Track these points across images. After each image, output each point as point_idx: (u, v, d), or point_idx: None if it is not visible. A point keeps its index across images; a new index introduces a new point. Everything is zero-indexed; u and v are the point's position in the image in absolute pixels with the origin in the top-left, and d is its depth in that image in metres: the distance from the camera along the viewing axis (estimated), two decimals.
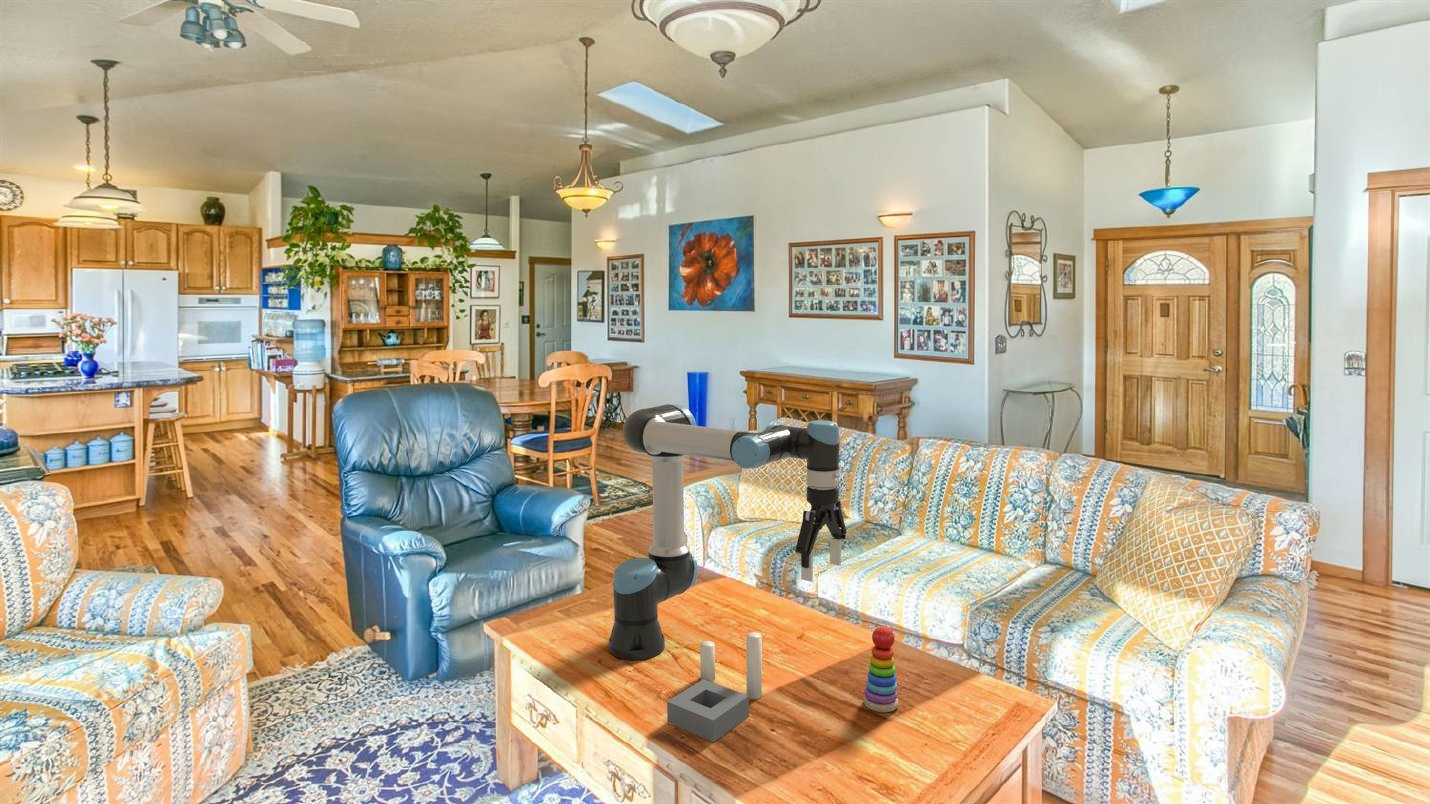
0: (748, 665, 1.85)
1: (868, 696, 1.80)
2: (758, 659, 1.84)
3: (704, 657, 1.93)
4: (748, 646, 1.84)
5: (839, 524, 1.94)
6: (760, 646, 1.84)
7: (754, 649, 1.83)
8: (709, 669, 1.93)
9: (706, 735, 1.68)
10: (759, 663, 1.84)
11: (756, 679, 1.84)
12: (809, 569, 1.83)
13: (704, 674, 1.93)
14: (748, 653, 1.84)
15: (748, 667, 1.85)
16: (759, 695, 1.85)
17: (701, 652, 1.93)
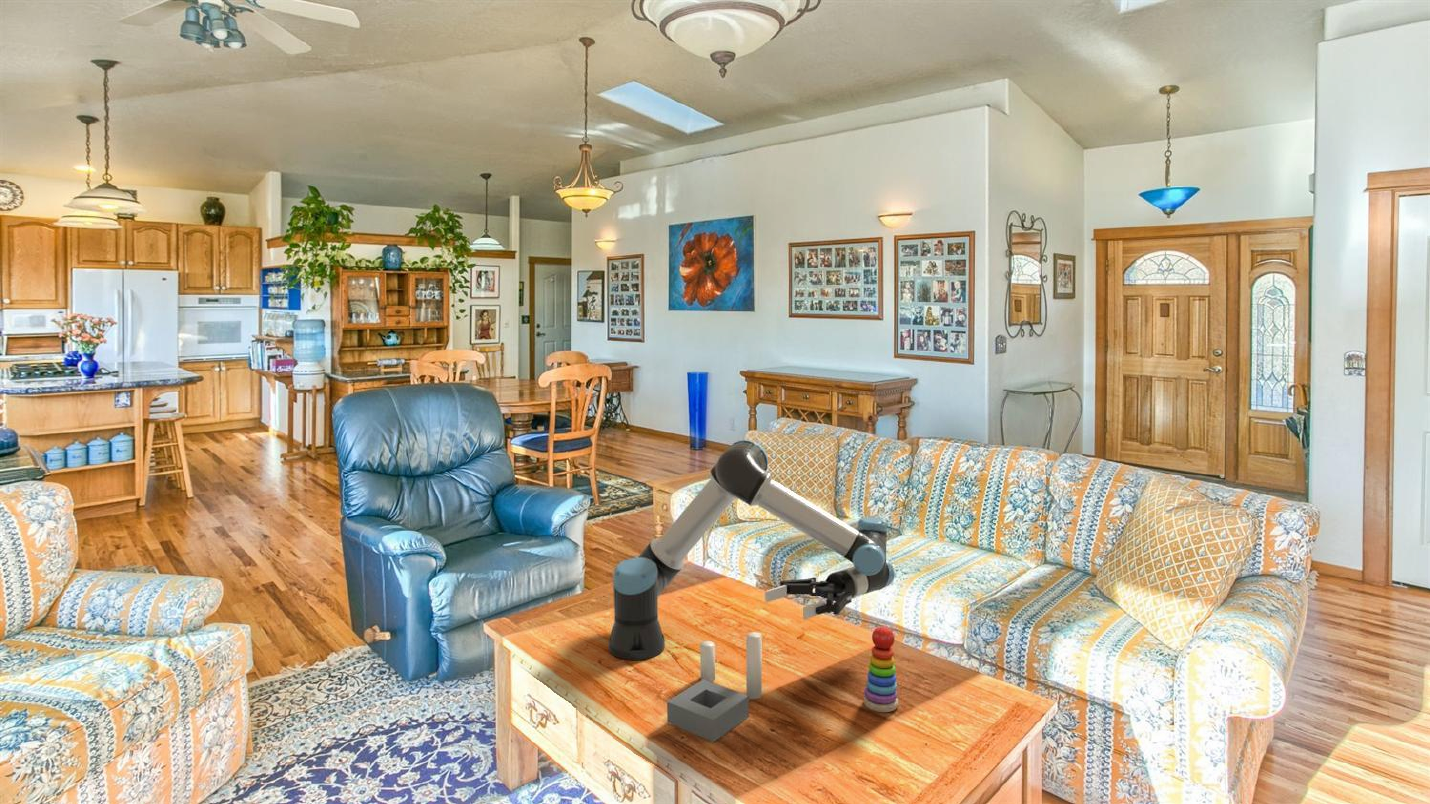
0: (748, 665, 1.85)
1: (868, 696, 1.80)
2: (758, 659, 1.84)
3: (704, 657, 1.93)
4: (748, 646, 1.84)
5: None
6: (760, 646, 1.84)
7: (754, 649, 1.83)
8: (709, 669, 1.93)
9: (706, 735, 1.68)
10: (759, 663, 1.84)
11: (756, 679, 1.84)
12: (814, 614, 1.86)
13: (704, 674, 1.93)
14: (748, 653, 1.84)
15: (748, 667, 1.85)
16: (759, 695, 1.85)
17: (701, 652, 1.93)
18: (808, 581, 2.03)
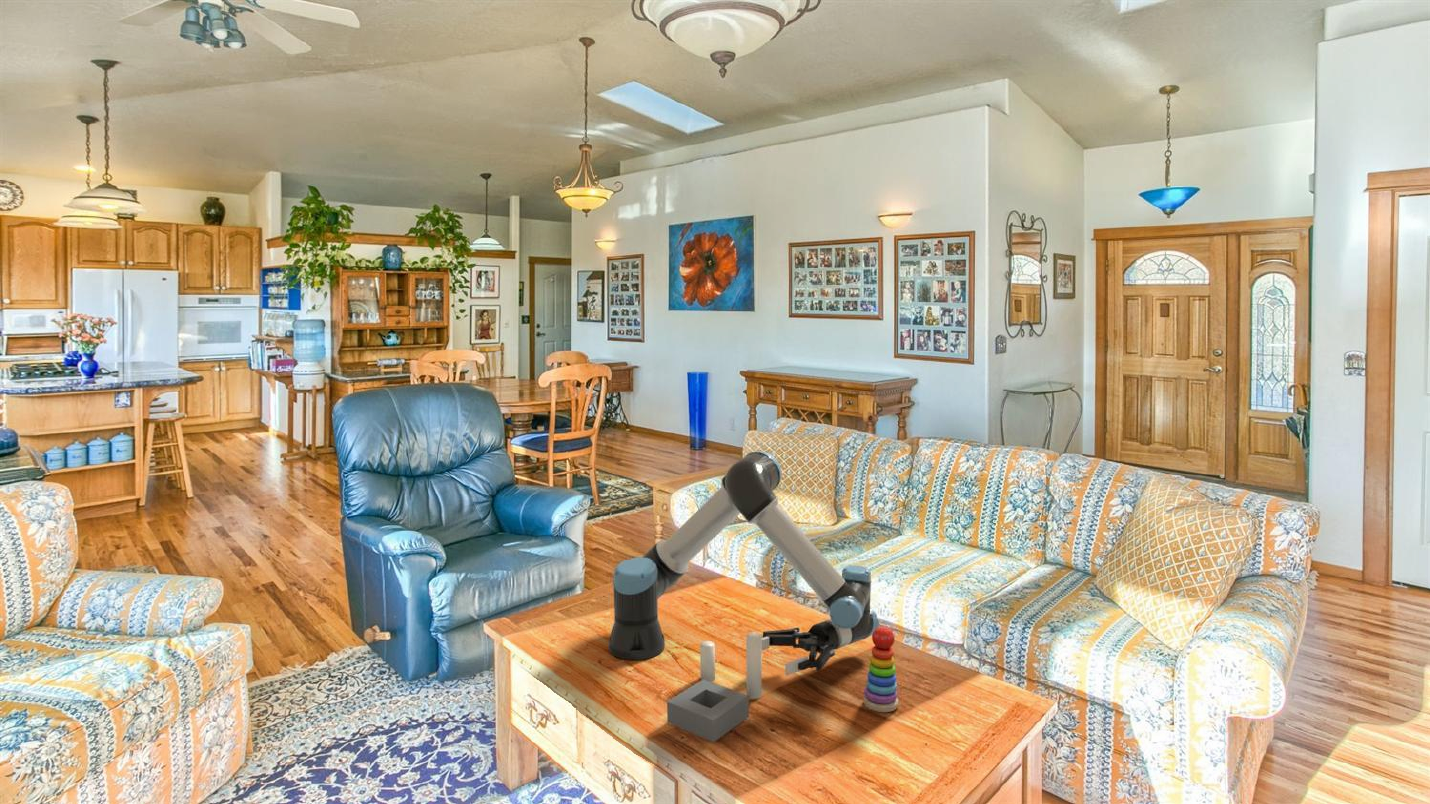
0: (748, 665, 1.85)
1: (868, 696, 1.80)
2: (758, 659, 1.84)
3: (704, 657, 1.93)
4: (748, 646, 1.84)
5: None
6: (760, 646, 1.84)
7: (754, 649, 1.83)
8: (709, 669, 1.93)
9: (706, 735, 1.68)
10: (759, 663, 1.84)
11: (756, 679, 1.84)
12: (796, 670, 1.83)
13: (704, 674, 1.93)
14: (748, 653, 1.84)
15: (748, 667, 1.85)
16: (759, 695, 1.85)
17: (701, 652, 1.93)
18: (791, 632, 2.00)
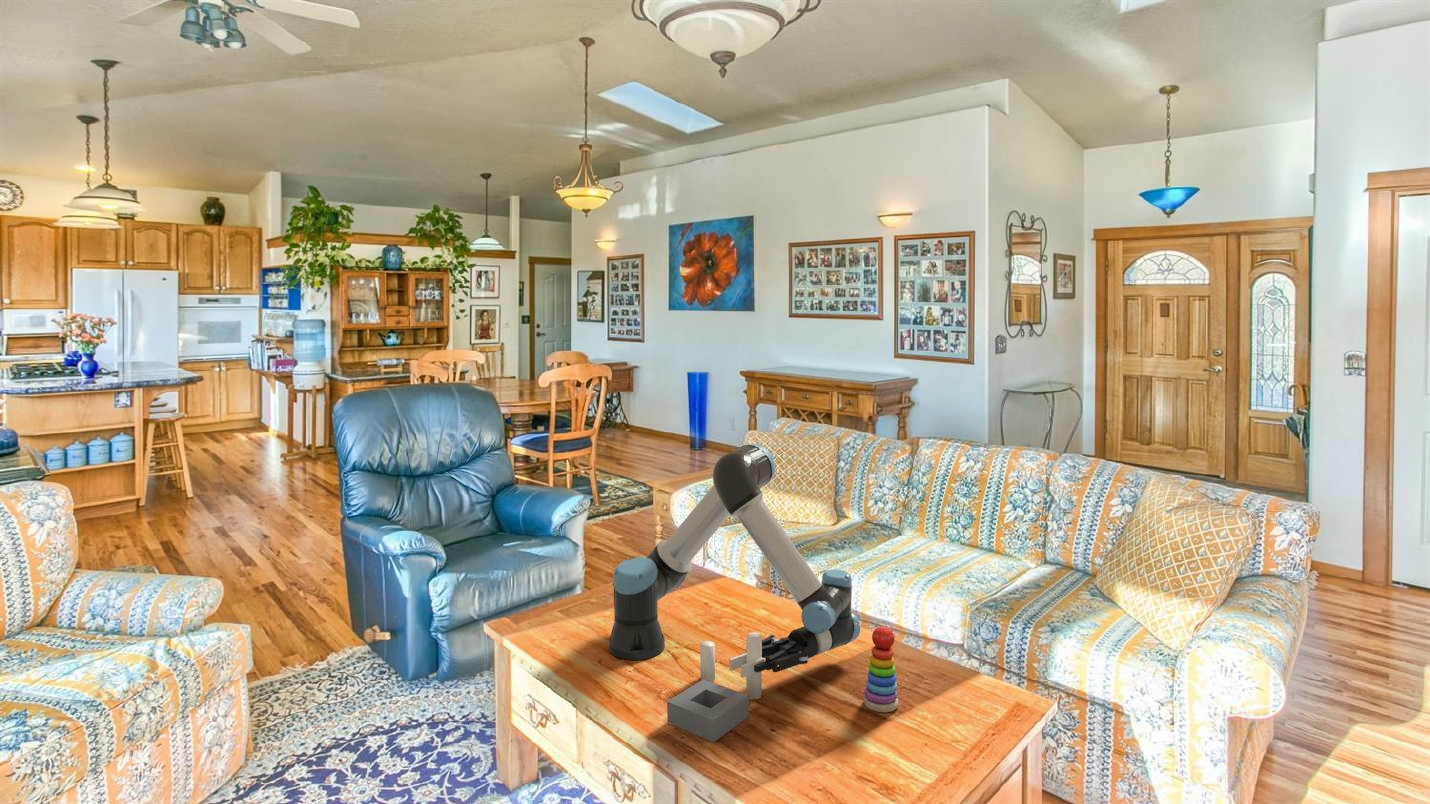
0: None
1: (868, 696, 1.80)
2: None
3: (704, 657, 1.93)
4: (748, 646, 1.84)
5: None
6: (760, 646, 1.84)
7: (754, 649, 1.83)
8: (709, 669, 1.93)
9: (706, 735, 1.68)
10: None
11: (756, 679, 1.84)
12: (752, 672, 1.82)
13: (704, 674, 1.93)
14: (748, 653, 1.84)
15: None
16: (759, 695, 1.85)
17: (701, 652, 1.93)
18: (770, 640, 1.95)
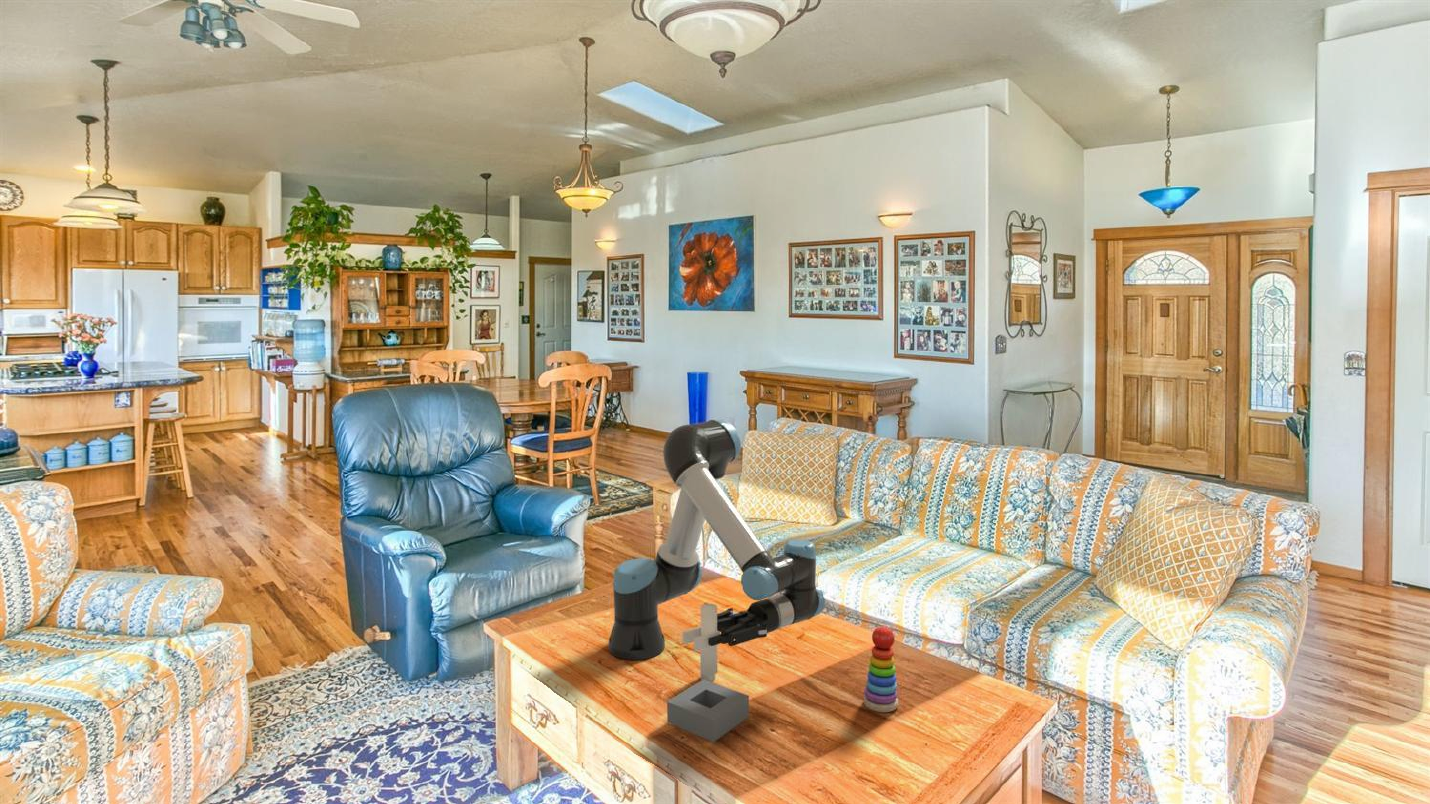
0: None
1: (868, 696, 1.80)
2: None
3: None
4: (702, 618, 1.72)
5: None
6: (715, 618, 1.72)
7: (708, 622, 1.71)
8: None
9: (706, 735, 1.68)
10: None
11: (711, 653, 1.72)
12: (706, 645, 1.70)
13: None
14: (702, 626, 1.72)
15: None
16: (714, 671, 1.74)
17: None
18: (728, 613, 1.83)
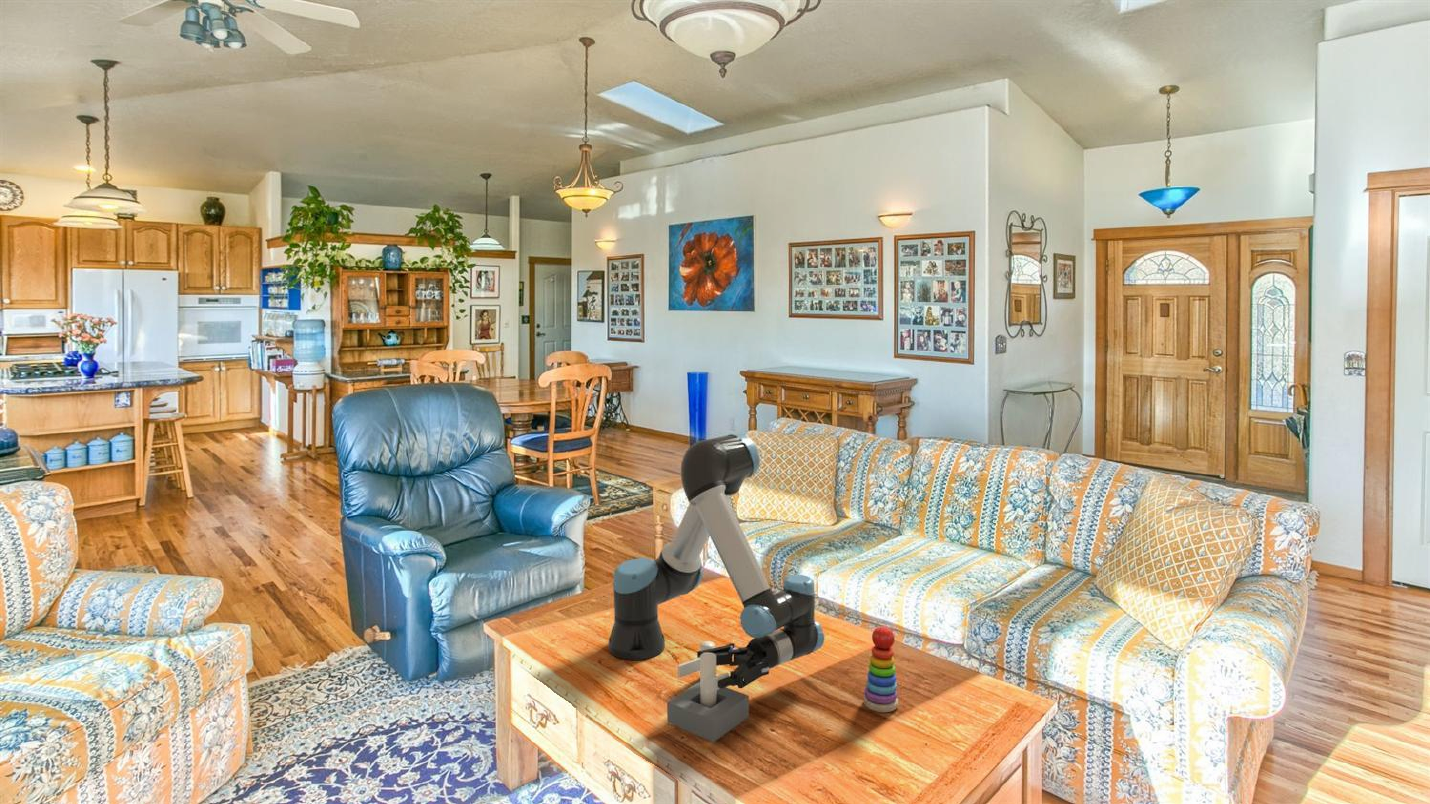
0: (702, 687, 1.74)
1: (868, 696, 1.80)
2: None
3: None
4: (702, 667, 1.73)
5: None
6: (714, 667, 1.74)
7: (708, 671, 1.73)
8: None
9: (706, 735, 1.68)
10: None
11: (710, 702, 1.74)
12: (715, 688, 1.70)
13: None
14: (702, 675, 1.74)
15: (702, 690, 1.74)
16: None
17: None
18: (727, 648, 1.85)
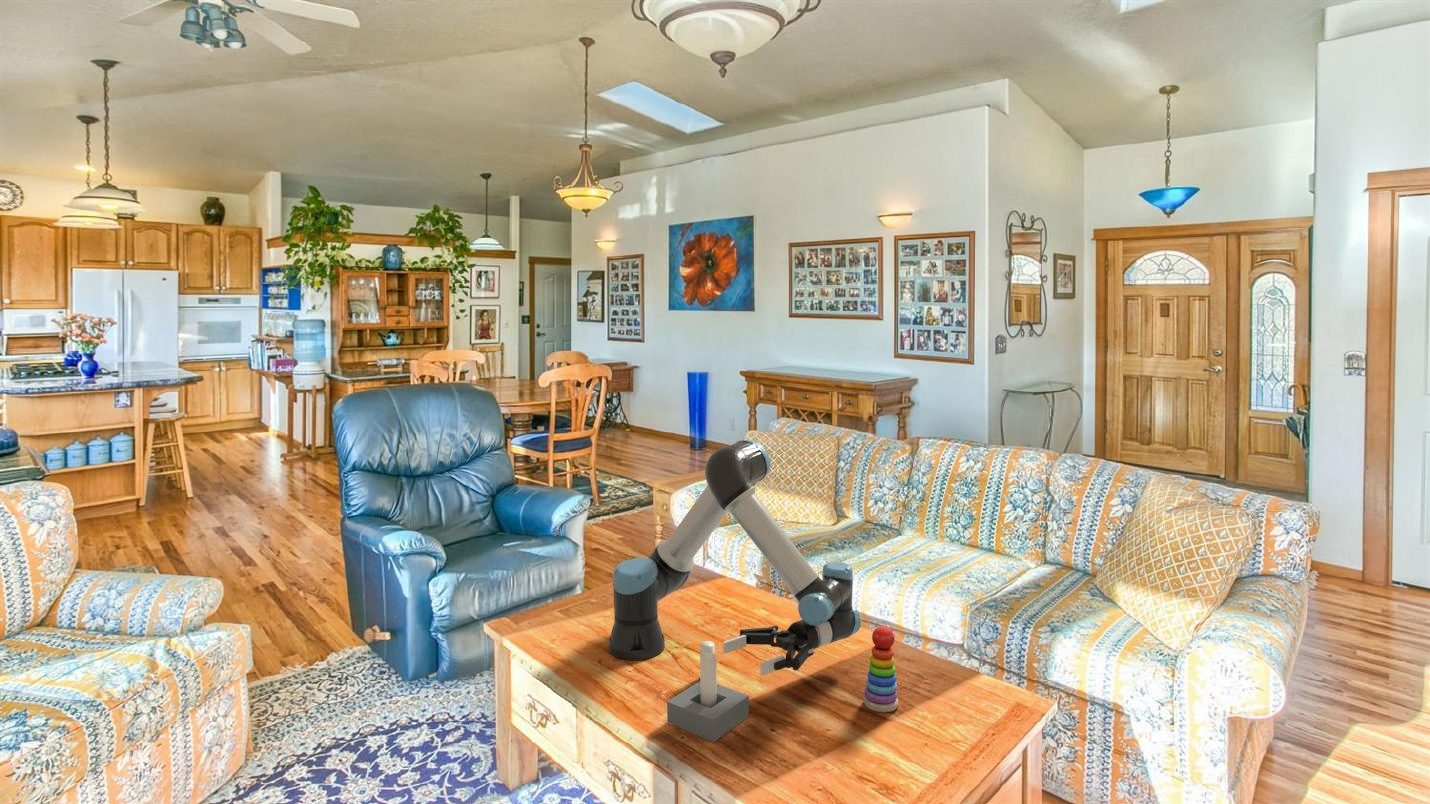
0: (702, 688, 1.74)
1: (868, 696, 1.80)
2: (713, 682, 1.73)
3: None
4: (702, 668, 1.73)
5: None
6: (715, 668, 1.74)
7: (708, 671, 1.73)
8: None
9: (706, 735, 1.68)
10: (713, 686, 1.74)
11: (710, 702, 1.74)
12: (772, 670, 1.77)
13: None
14: (702, 675, 1.74)
15: (702, 690, 1.74)
16: None
17: (701, 652, 1.93)
18: (769, 630, 1.93)
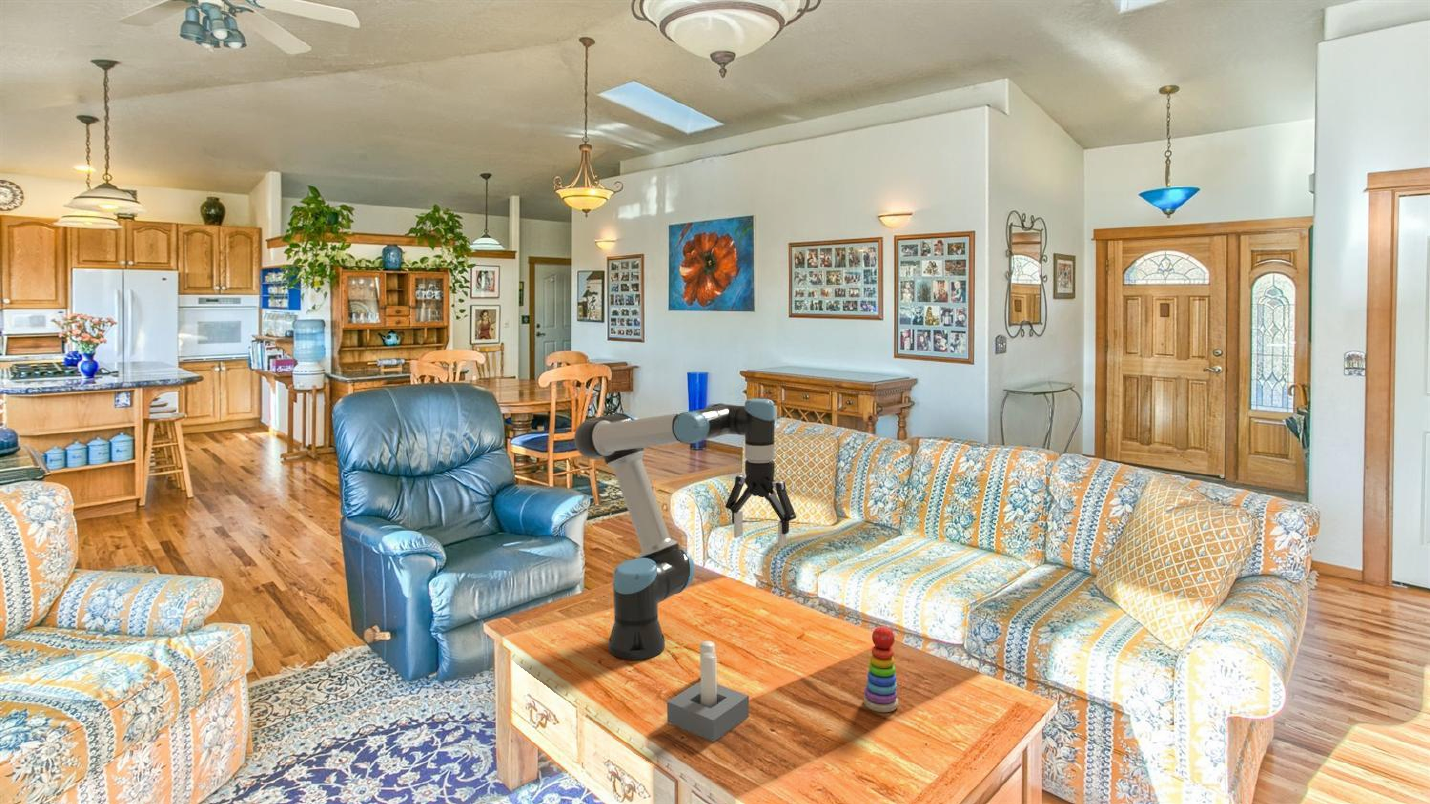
0: (702, 688, 1.74)
1: (868, 696, 1.80)
2: (713, 682, 1.73)
3: None
4: (702, 667, 1.73)
5: (736, 497, 2.06)
6: (715, 668, 1.74)
7: (708, 671, 1.73)
8: None
9: (706, 735, 1.68)
10: (714, 686, 1.74)
11: (710, 702, 1.74)
12: (785, 534, 1.98)
13: None
14: (702, 675, 1.74)
15: (702, 690, 1.74)
16: None
17: (701, 652, 1.93)
18: (738, 486, 2.03)
